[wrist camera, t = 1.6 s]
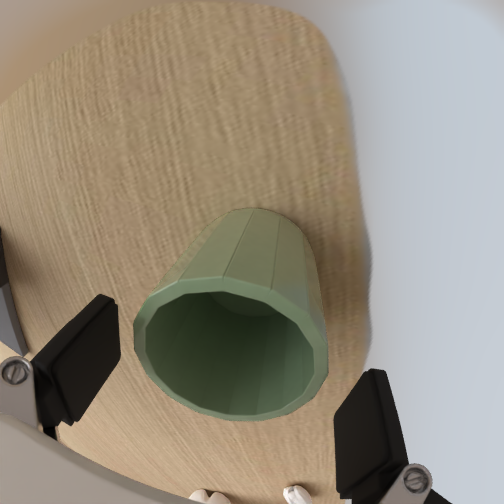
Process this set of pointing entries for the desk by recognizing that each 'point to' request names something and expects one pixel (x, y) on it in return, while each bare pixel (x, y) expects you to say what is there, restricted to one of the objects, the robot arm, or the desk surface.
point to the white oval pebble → (297, 495)
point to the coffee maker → (9, 313)
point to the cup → (238, 321)
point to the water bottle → (217, 500)
